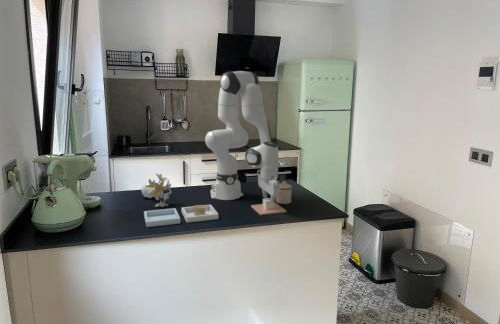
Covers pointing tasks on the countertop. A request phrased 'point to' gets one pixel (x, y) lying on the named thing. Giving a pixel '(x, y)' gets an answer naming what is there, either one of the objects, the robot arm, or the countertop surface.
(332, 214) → the countertop surface
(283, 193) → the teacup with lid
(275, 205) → the terracotta tile
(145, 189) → the flower vase
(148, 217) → the blue grey tray
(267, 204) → the letter cube
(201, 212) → the plain oak block
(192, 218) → the grey tray
